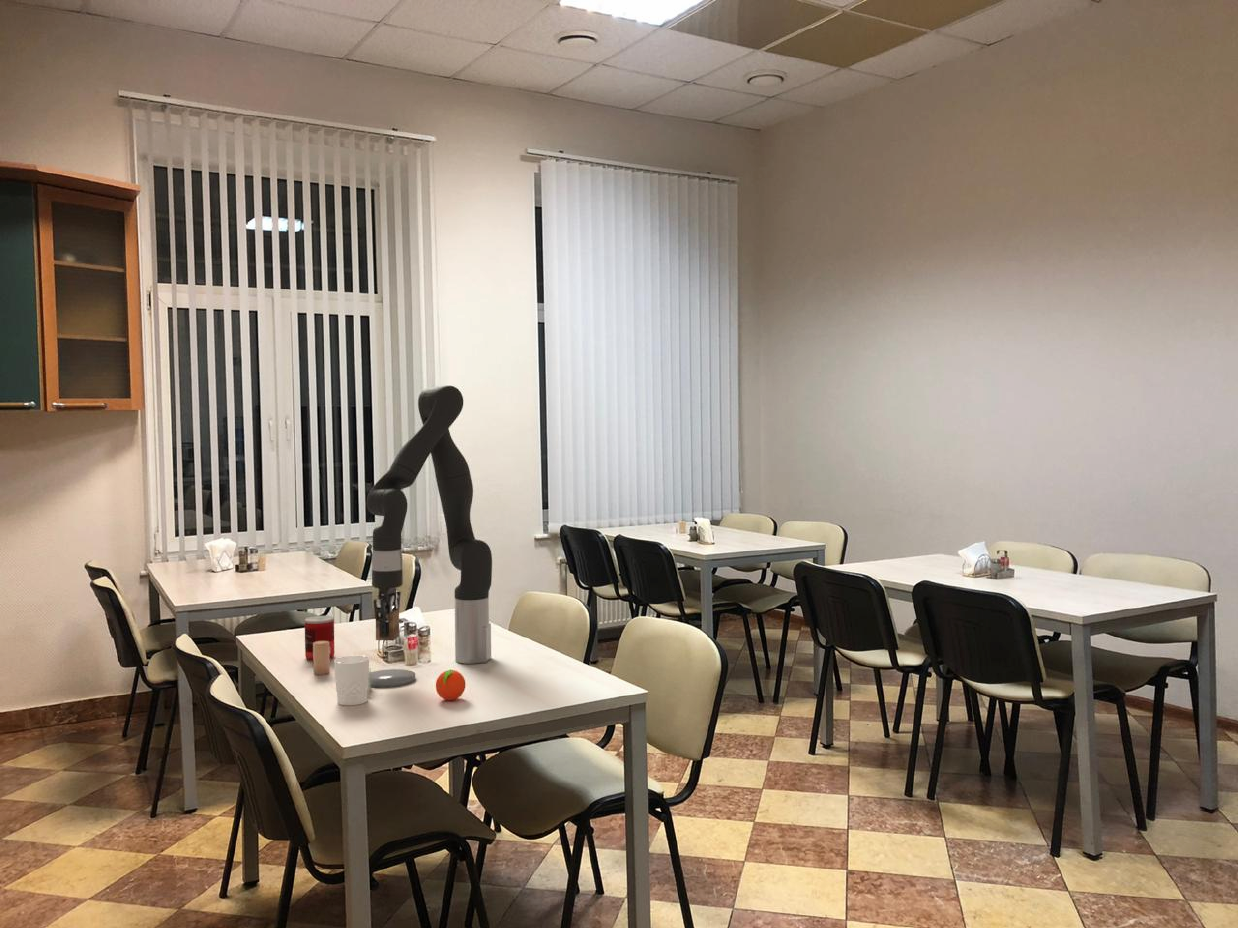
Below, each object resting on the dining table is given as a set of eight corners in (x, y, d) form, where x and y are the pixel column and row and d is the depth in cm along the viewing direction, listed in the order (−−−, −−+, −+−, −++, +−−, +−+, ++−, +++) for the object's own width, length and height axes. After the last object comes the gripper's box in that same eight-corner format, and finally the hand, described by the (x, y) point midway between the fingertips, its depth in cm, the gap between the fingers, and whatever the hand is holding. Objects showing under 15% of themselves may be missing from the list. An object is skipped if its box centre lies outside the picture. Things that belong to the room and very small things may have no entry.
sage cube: (370, 688, 238) (370, 667, 238) (369, 693, 233) (368, 673, 233) (349, 689, 237) (349, 668, 237) (347, 694, 232) (347, 674, 232)
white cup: (337, 708, 221) (336, 664, 221) (332, 699, 228) (332, 657, 228) (372, 704, 224) (371, 661, 224) (367, 695, 232) (366, 653, 231)
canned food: (338, 654, 273) (338, 615, 272) (327, 661, 265) (326, 621, 264) (312, 653, 273) (311, 615, 273) (300, 660, 265) (299, 621, 265)
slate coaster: (421, 674, 251) (421, 669, 251) (406, 687, 238) (406, 682, 238) (372, 673, 252) (372, 668, 252) (354, 686, 239) (354, 681, 239)
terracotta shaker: (332, 671, 254) (331, 640, 254) (326, 675, 250) (325, 644, 250) (317, 670, 255) (316, 640, 254) (311, 674, 251) (310, 644, 250)
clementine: (458, 705, 222) (458, 675, 222) (429, 704, 224) (429, 673, 223) (469, 696, 230) (469, 666, 230) (442, 694, 232) (441, 665, 231)
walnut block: (399, 636, 246) (399, 609, 246) (393, 640, 242) (393, 612, 242) (381, 636, 247) (381, 608, 246) (375, 640, 242) (375, 612, 242)
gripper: (392, 572, 236) (392, 641, 237) (410, 563, 250) (411, 629, 251) (362, 571, 237) (363, 641, 238) (382, 563, 251) (382, 629, 252)
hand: (387, 634), depth 244 cm, fingers closed on walnut block, 4 cm apart
